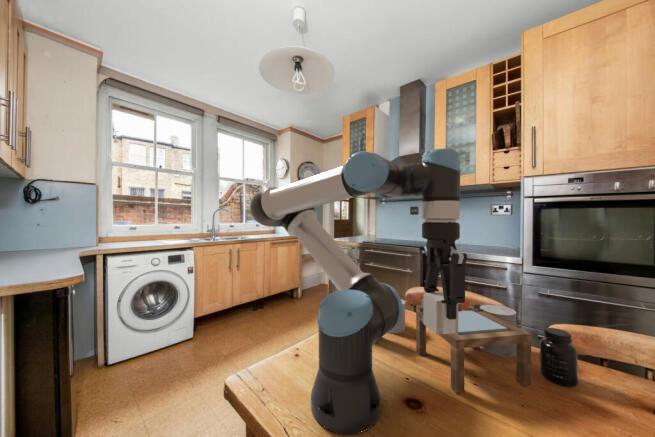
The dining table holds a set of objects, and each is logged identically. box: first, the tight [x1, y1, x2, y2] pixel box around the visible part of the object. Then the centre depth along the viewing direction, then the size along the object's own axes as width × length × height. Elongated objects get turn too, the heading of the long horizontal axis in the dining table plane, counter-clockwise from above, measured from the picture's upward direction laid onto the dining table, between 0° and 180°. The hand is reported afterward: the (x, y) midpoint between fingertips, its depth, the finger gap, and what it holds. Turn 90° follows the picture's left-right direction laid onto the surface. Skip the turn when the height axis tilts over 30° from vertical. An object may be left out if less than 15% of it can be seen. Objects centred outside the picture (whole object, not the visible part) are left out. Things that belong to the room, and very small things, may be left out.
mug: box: [387, 299, 406, 335], centre depth 89 cm, size 11×10×10 cm
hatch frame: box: [415, 301, 533, 395], centre depth 65 cm, size 20×18×14 cm
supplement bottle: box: [539, 327, 579, 389], centre depth 60 cm, size 7×7×12 cm
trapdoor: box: [420, 298, 507, 335], centre depth 70 cm, size 14×20×4 cm
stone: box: [422, 292, 458, 335], centre depth 52 cm, size 5×5×7 cm
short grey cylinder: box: [480, 303, 517, 358], centre depth 74 cm, size 10×10×12 cm
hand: (439, 326), depth 52 cm, fingers closed on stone, 5 cm apart
